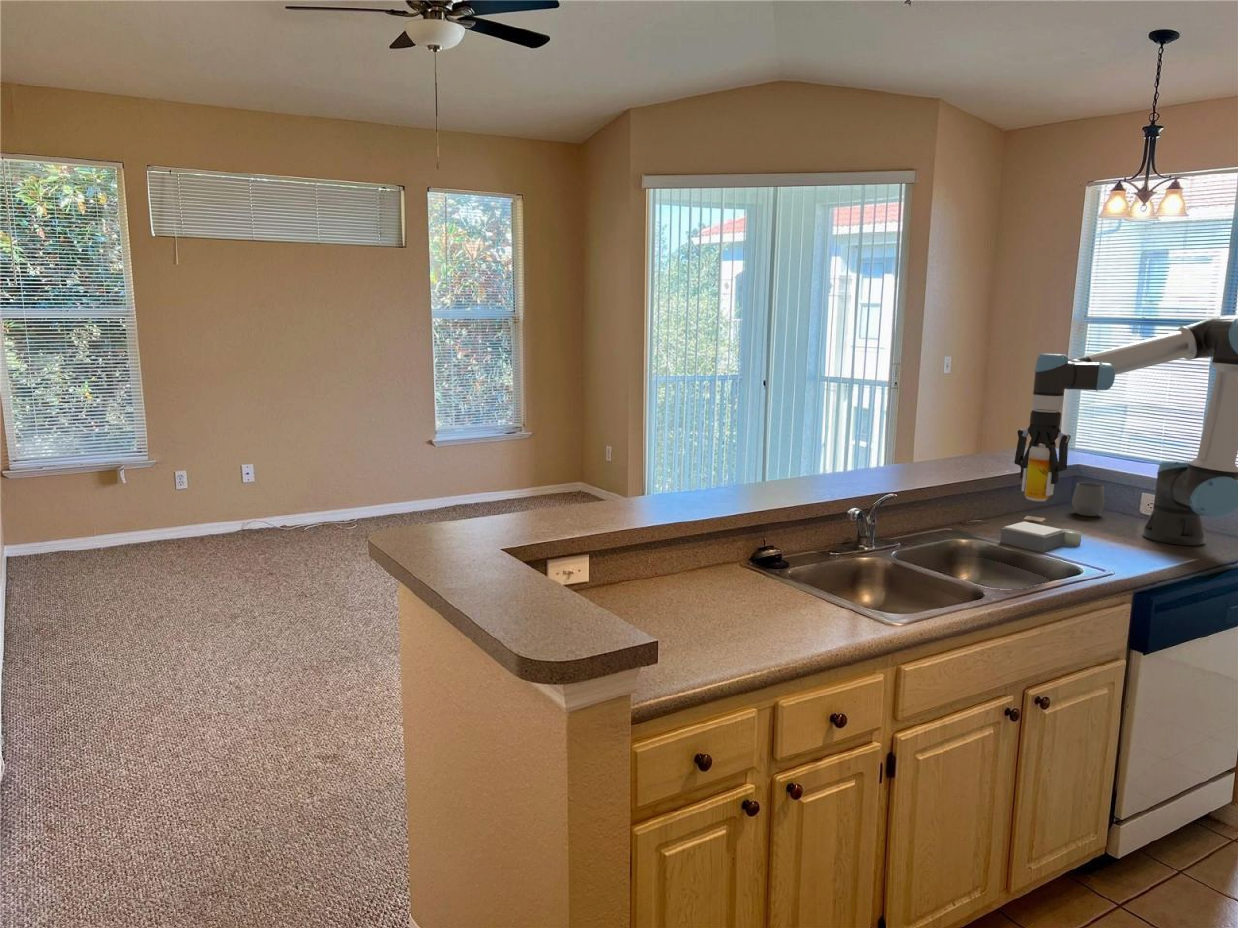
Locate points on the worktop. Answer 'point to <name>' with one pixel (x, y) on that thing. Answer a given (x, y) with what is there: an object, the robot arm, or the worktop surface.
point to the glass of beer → (1037, 473)
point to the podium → (1032, 536)
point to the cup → (1088, 499)
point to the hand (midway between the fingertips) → (1037, 492)
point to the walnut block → (1034, 520)
